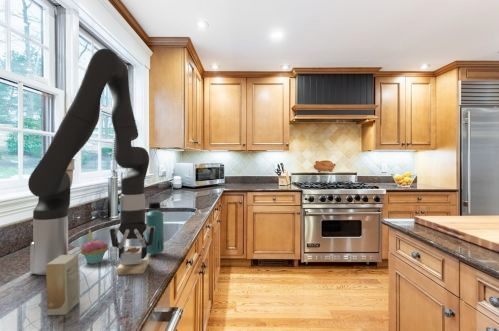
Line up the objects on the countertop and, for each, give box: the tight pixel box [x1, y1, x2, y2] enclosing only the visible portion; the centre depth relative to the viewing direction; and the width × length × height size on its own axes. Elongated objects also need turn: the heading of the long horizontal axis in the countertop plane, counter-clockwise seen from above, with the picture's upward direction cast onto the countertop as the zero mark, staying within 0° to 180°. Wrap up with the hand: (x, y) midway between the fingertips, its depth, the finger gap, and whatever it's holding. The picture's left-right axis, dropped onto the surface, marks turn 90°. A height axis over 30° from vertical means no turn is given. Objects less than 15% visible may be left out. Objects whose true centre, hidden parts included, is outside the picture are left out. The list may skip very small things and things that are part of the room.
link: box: [120, 246, 143, 265], centre depth 92 cm, size 6×6×4 cm
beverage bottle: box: [145, 201, 165, 255], centre depth 106 cm, size 6×7×20 cm
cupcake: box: [80, 228, 109, 265], centre depth 100 cm, size 9×8×12 cm
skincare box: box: [46, 254, 80, 316], centre depth 68 cm, size 6×4×12 cm
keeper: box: [116, 246, 149, 276], centre depth 92 cm, size 8×8×7 cm
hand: (133, 258), depth 93 cm, fingers closed on link, 6 cm apart
